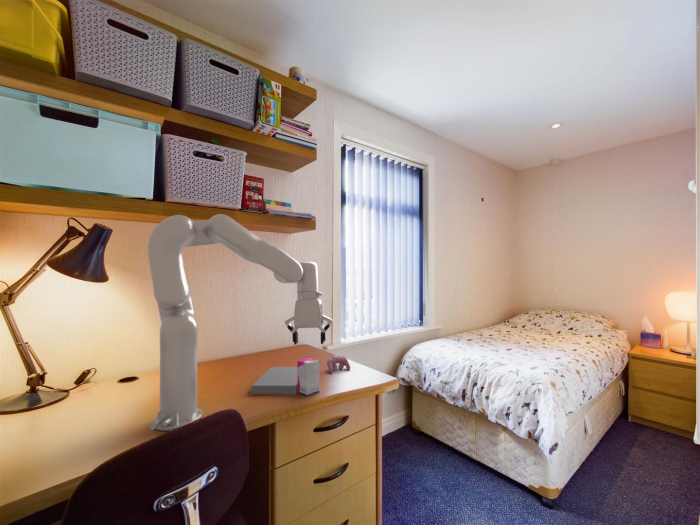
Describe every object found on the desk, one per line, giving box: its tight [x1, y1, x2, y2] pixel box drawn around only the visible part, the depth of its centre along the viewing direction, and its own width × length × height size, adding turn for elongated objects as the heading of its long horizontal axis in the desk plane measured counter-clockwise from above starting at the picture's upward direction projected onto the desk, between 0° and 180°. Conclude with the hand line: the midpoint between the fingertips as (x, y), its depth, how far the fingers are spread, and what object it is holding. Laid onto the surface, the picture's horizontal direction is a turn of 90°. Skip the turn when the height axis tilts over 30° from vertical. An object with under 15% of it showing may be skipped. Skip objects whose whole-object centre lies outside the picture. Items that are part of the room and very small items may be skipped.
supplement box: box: [297, 357, 320, 397], centre depth 109 cm, size 6×6×12 cm
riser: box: [251, 366, 298, 395], centre depth 118 cm, size 22×16×3 cm
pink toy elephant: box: [326, 355, 351, 374], centre depth 134 cm, size 10×5×7 cm, turn 116°
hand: (309, 343), depth 109 cm, fingers open, 9 cm apart
